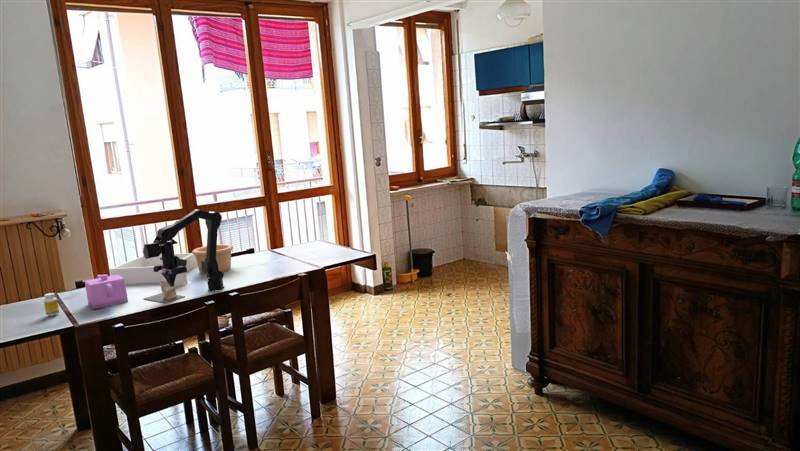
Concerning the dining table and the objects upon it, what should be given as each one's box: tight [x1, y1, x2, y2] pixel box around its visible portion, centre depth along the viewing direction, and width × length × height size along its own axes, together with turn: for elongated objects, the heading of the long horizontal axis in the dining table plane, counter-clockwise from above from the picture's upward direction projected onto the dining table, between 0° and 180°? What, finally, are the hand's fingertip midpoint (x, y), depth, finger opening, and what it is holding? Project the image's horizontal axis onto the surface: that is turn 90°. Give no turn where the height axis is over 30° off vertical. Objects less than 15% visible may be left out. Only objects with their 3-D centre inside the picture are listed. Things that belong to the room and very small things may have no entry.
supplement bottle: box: [43, 292, 60, 316], centre depth 267 cm, size 5×5×10 cm
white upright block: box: [175, 272, 188, 288], centre depth 305 cm, size 9×8×12 cm
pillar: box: [159, 280, 178, 300], centre depth 278 cm, size 4×4×9 cm
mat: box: [143, 292, 186, 304], centre depth 281 cm, size 18×11×1 cm, turn 55°
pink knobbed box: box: [84, 274, 129, 310], centre depth 280 cm, size 15×25×14 cm, turn 38°
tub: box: [109, 252, 198, 285], centre depth 330 cm, size 34×34×9 cm
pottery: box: [191, 243, 234, 276], centre depth 328 cm, size 22×22×14 cm
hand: (172, 286), depth 275 cm, fingers closed
